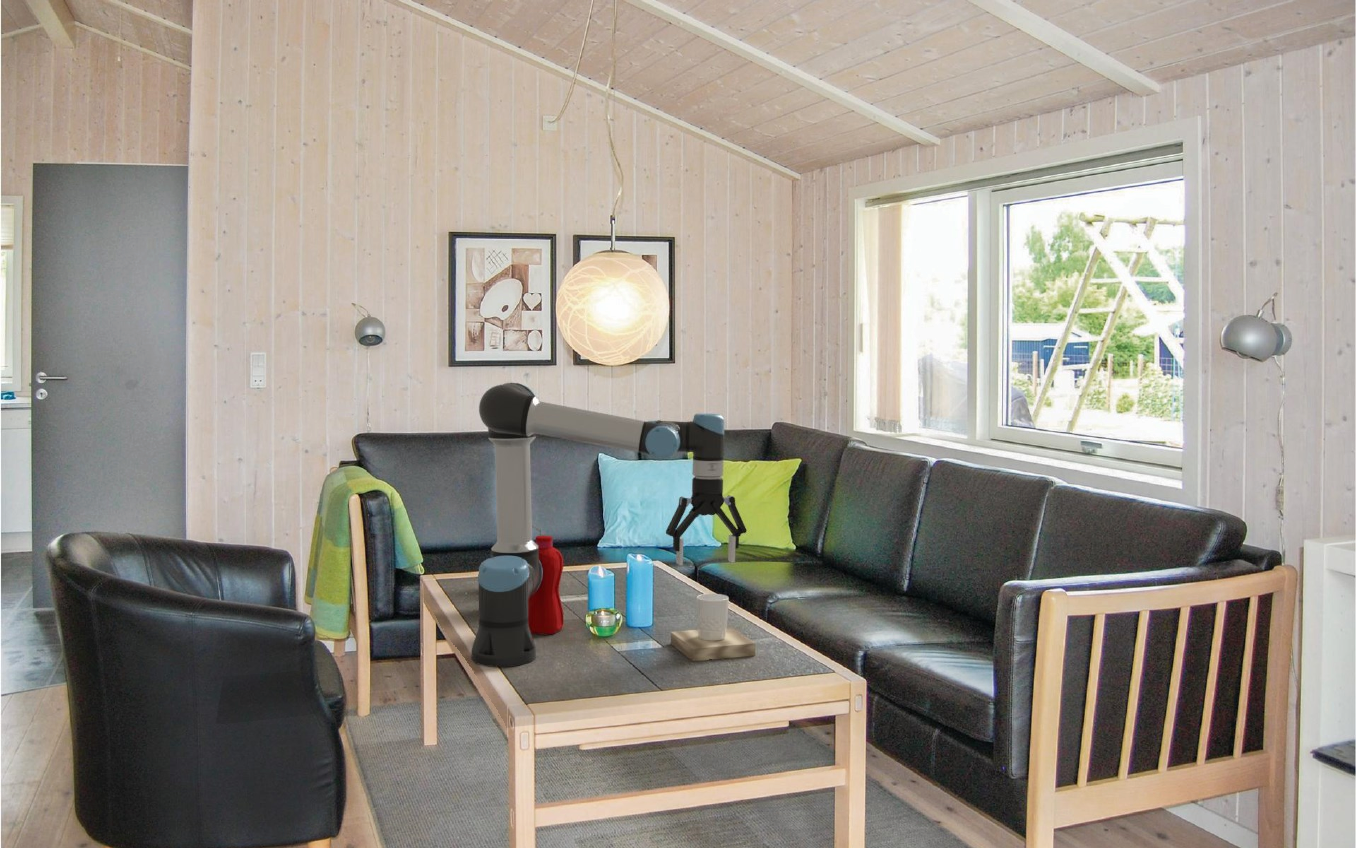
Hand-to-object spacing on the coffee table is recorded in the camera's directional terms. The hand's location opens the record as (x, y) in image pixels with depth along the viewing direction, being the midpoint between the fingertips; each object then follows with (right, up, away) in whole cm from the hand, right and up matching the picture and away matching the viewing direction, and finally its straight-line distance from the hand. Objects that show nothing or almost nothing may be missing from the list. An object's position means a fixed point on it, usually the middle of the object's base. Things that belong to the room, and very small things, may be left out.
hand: (705, 563), depth 273 cm
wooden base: (+2, -21, 0) cm, 21 cm away
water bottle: (-41, -20, +17) cm, 49 cm away
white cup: (+2, -18, 0) cm, 19 cm away
